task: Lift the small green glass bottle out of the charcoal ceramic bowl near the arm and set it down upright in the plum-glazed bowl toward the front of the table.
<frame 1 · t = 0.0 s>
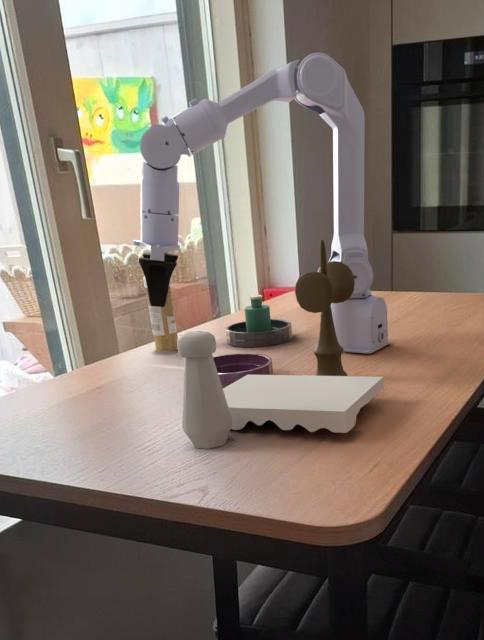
hand: (158, 302, 113), 11 cm above the table, tool pointing down, fingers open, 7 cm apart
kendama: (330, 383, 103), on the table
salt shaker: (210, 444, 83), on the table
bowl plum: (234, 382, 106), on the table
scalloped display plinth: (293, 416, 90), on the table
bowl charcoal: (260, 341, 130), on the table
bottle: (260, 339, 130), resting on bowl charcoal
sprinkles bottle: (167, 352, 128), on the table
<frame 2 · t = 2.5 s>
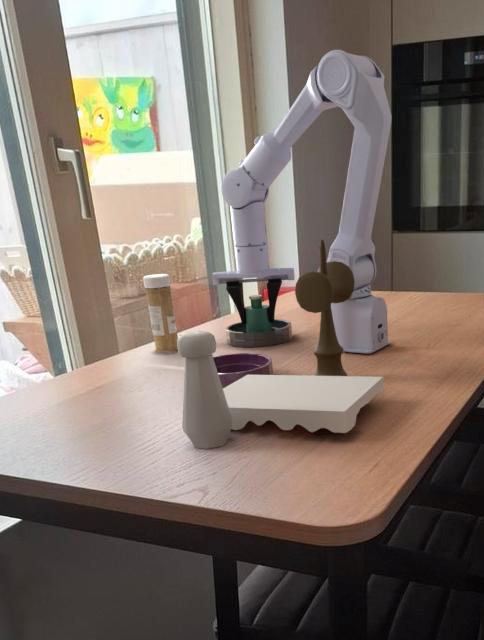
hand: (258, 322, 129), 4 cm above the table, tool pointing down, fingers closed on bottle, 4 cm apart
bottle: (260, 339, 130), resting on bowl charcoal, touching gripper
everything else where it was.
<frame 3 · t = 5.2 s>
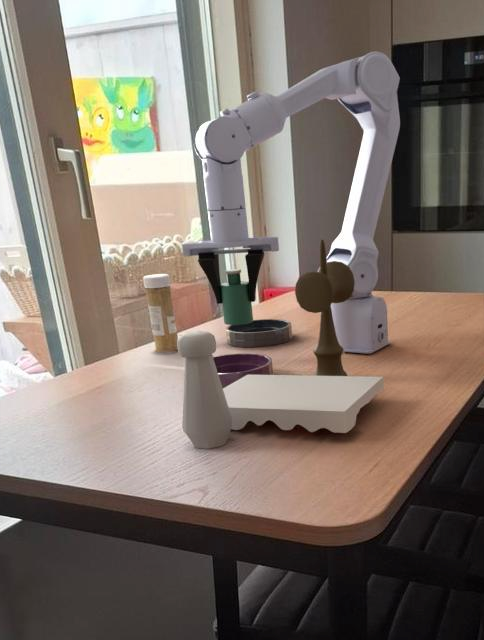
hand: (236, 301, 110), 10 cm above the table, tool pointing down, fingers closed on bottle, 4 cm apart
bottle: (238, 322, 112), point 7 cm above the table, touching gripper
everything else where it was.
when the fingers open (4 cm above the table, at t = 8.1 s): bottle stays where it is, resting on bowl plum.
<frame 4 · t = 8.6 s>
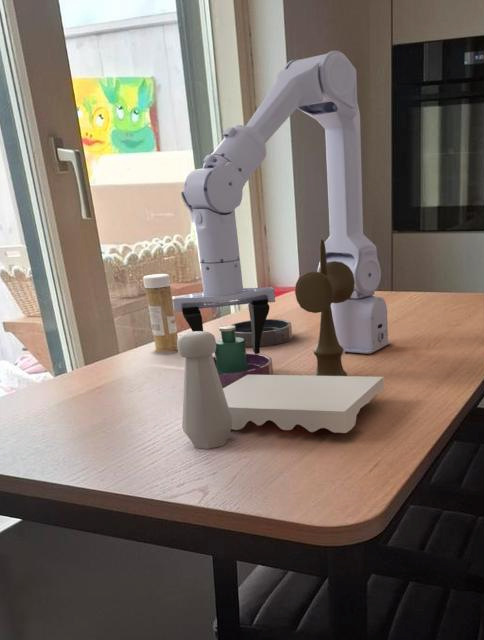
hand: (231, 355, 104), 4 cm above the table, tool pointing down, fingers open, 7 cm apart
bottle: (233, 379, 106), resting on bowl plum
everything else where it was.
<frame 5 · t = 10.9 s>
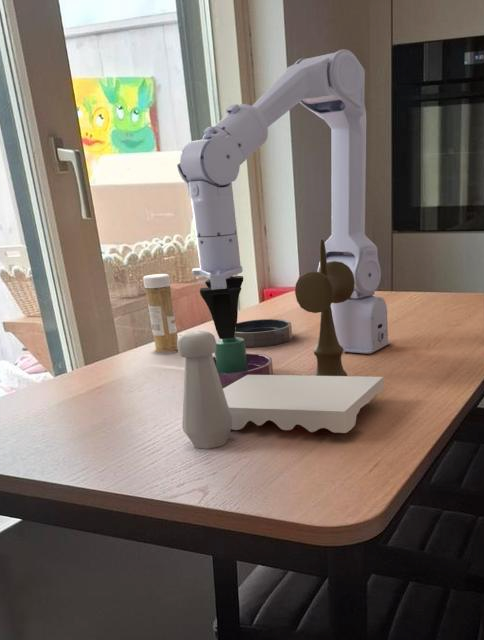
hand: (228, 332, 103), 8 cm above the table, tool pointing down, fingers open, 7 cm apart
nothing on the table moved.
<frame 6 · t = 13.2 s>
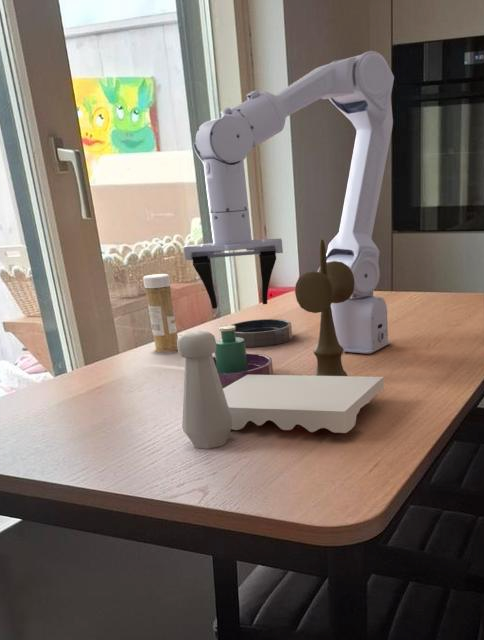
hand: (239, 305, 108), 10 cm above the table, tool pointing down, fingers open, 7 cm apart
nothing on the table moved.
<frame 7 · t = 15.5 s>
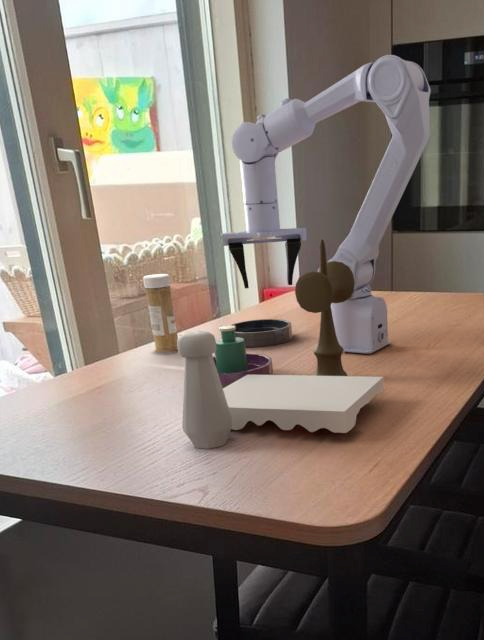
hand: (268, 286, 124), 10 cm above the table, tool pointing down, fingers open, 7 cm apart
nothing on the table moved.
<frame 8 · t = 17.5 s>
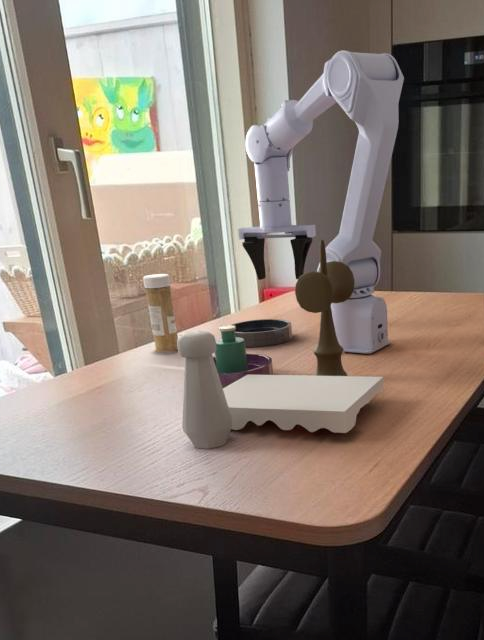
hand: (280, 278, 131), 10 cm above the table, tool pointing down, fingers open, 7 cm apart
nothing on the table moved.
at the end: bottle inside the target area in the bowl plum (0.0 cm from its centre), point 0.4 cm above the bowl plum's base; bottle tilted 0°; the gripper is holding nothing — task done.
